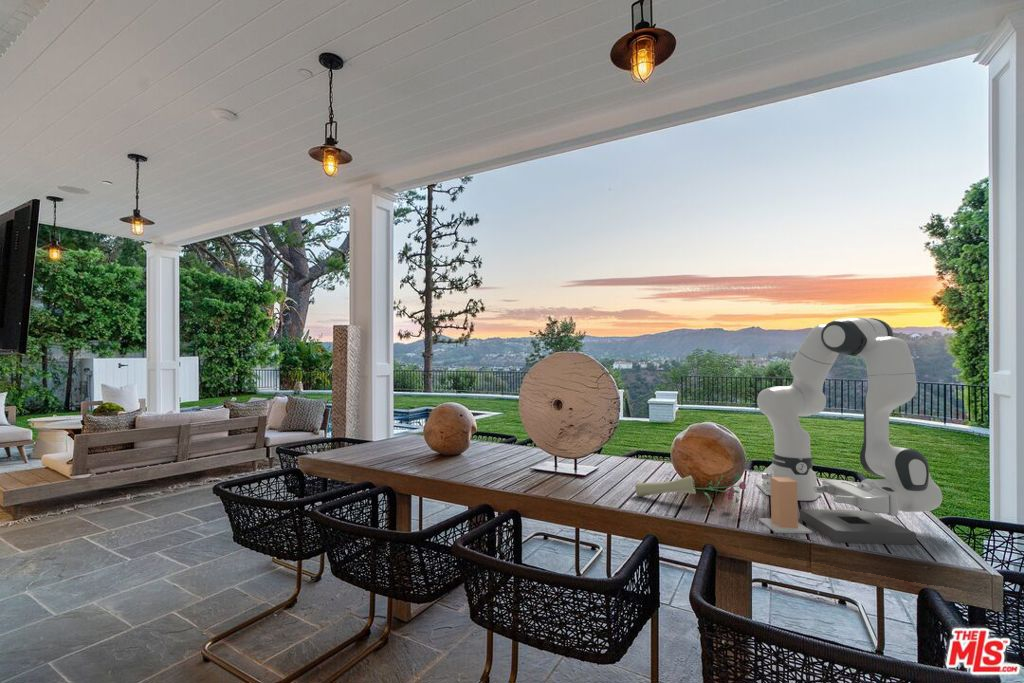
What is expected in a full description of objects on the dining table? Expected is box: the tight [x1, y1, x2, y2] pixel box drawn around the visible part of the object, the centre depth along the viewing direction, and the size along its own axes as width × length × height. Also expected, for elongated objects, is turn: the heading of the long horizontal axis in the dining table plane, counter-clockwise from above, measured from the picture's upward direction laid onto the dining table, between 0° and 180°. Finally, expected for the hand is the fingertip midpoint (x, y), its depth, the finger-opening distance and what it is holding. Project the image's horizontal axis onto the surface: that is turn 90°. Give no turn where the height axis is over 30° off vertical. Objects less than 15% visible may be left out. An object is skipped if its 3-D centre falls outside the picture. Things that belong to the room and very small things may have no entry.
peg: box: [770, 477, 799, 528], centre depth 135 cm, size 5×5×13 cm
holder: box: [799, 508, 917, 545], centre depth 131 cm, size 18×20×3 cm
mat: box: [758, 517, 813, 534], centre depth 135 cm, size 10×10×1 cm
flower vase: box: [635, 473, 747, 511], centre depth 155 cm, size 12×12×35 cm
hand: (824, 494), depth 134 cm, fingers open, 8 cm apart
